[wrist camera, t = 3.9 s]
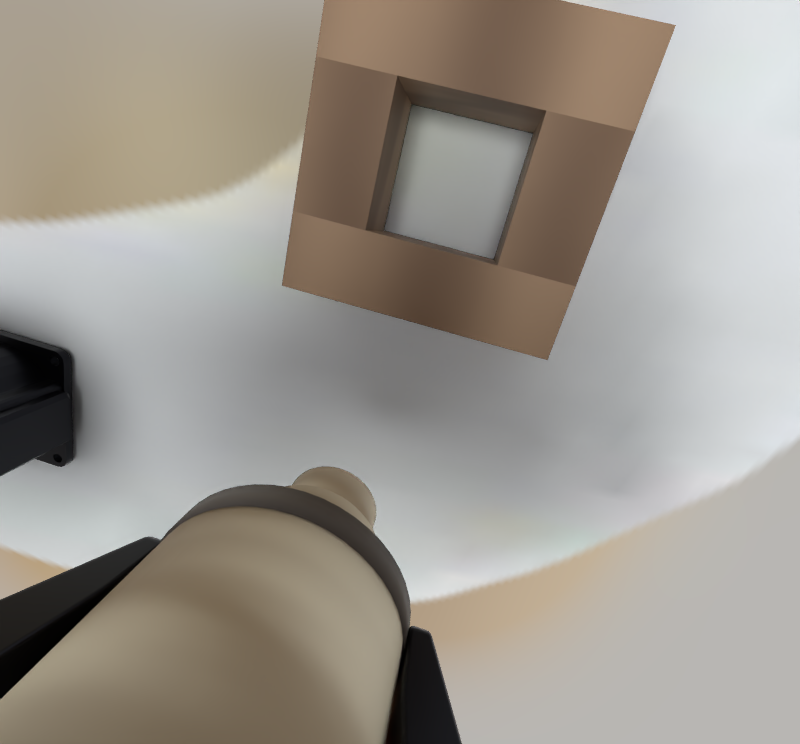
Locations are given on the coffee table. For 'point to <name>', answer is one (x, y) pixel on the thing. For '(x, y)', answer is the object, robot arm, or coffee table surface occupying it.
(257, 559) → the peg
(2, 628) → the robot arm
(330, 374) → the coffee table surface
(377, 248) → the brown square frame
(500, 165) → the coffee table surface
